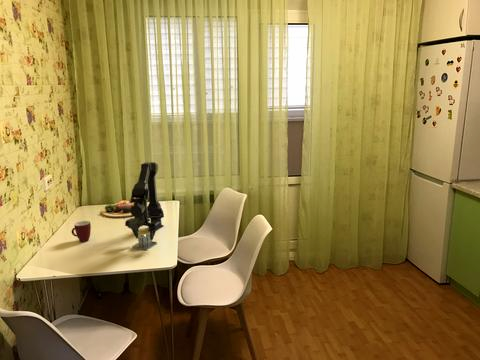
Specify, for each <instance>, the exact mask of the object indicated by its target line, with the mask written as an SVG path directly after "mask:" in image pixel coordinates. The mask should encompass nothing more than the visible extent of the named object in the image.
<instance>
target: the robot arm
mask: <svg viewBox="0 0 480 360" xmlns="http://www.w3.org/2000/svg"><path fill="white" fill-rule="evenodd" d="M158 170H159V165H158V164H157V163H156V162H155V161H154V162H151V161H150V162H149V161H146V162H143V163H141V164H140V171H139V172H140V173H139V174H138V175H139V176H138V180H137V182H136V183H135V184H134V185H133V187H132V189H131V194H130V195H131V196H130V199H131V202H134V205H133V207H132V208H131V210H130V213H131V214H132V216H134V217H129V218H127V219H126V220H125V222H124V224H125V227H127V228H129V229H131V231H132V233H133V236H134V237H135V239H137V240H138V236H139V229H140V227H141V228H142V227H143V226H145V227H147V228H148V230H147V231H148V233H149V234H150V241H153V240H154V237H155V234H156V233H157V230H159V229H162V228H163V227H164V226H165V225H164V224H162V223H163V222H162V219H163V218H165V213H164V210H163V208H162V205H161V203H160V202H159V200H158V194H157V193H158V192H157V182H156V175H157V173H158ZM134 197H135V198H138V199H134ZM148 200H149V203H148ZM147 203H148V204H149V205H148V207H147Z"/></svg>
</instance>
